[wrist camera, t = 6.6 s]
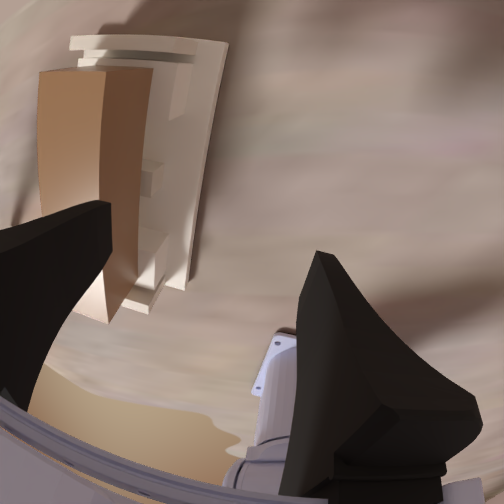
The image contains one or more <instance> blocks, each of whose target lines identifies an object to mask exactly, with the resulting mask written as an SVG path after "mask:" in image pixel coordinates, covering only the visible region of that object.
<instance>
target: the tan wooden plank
mask: <svg viewBox="0 0 504 504" xmlns="http://www.w3.org/2000/svg"><path fill="white" fill-rule="evenodd" d="M153 69H154V68H144V67H128V66H100V65H93V66H83V67H74V68H65V69H58V70H51V71H44V72H40V74H39V88H38V107H37V155H38V176H39V189H40V200H41V210H42V217H44V216H47V215H50V214H53V213H55V212H58V211H61V210H64V209H67V208H69V207H72V206H75V205H78V204H81V203H85V202H88V201H93V200H101V201H106V202H110V203H111V215H112V244H113V252H112V254H111V255H110V257H109V259H108V261H107V263H106V264H105V266H104V268H103V269H102V271H101V273H100V274H99V275H98V277H97V278H96V279H95V280H94V282H93V283H92V284H91V286H90V287H89V288H88V290H87V291H86V292H85V294H84V295H83V296H82V297H81V299H80V300H79V301H78V303H77V304H76V305H75V307H74V308H73V310H72V311H74V312H77V313H79V314H82V315H84V316H87V317H90V318H92V319H95V320H98V321H101V322H103V323H106V324H109V323H110V321H111V320H112V318H113V317H114V315H115V313H116V312H117V310H118V309H119V307H120V306H121V304H122V302H123V301H124V299H125V298H126V296H127V295H128V293H129V292H130V290H131V289H132V287H133V286H134V284H135V283H136V281H137V280H138V226H139V201H140V184H141V169H142V157H143V146H144V136H145V127H146V118H147V110H148V102H149V95H150V88H151V81H152V75H153Z"/></svg>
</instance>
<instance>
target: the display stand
mask: <svg viewBox="0 0 504 504" xmlns="http://www.w3.org/2000/svg"><path fill="white" fill-rule="evenodd" d="M228 47H229V43H226V42H220V41H213V40H205V39H196V38H186V37H175V36H161V35H135V34H106V35H82V36H71V40H70V46H69V50H84V57H83V58H79V59H78V67H83V66H93V65H100V66H128V67H144V68H154V69H153V75H152V81H151V88H150V95H149V102H148V110H147V118H146V127H145V136H144V146H143V157H142V169H141V184H140V201H139V226H138V280H137V281H136V283H135V284H134V286H133V287H132V289H131V290H130V292H129V293H128V295H127V296H126V298H125V299H124V301H123V302H122V304H121V306H124V307H127V308H130V309H133V310H136V311H139V312H142V313H146V314H149V313H150V311H151V309H152V307H153V305H154V303H155V301H156V300H157V298H158V296H159V294H160V292H161V290H162V289H163V287H164V285H167V286H170V287H174V288H177V289H181V290H185V288H186V286H187V284H188V280H189V272H190V264H191V256H192V248H193V241H194V234H195V227H196V220H197V213H198V206H199V200H200V193H201V187H202V181H203V175H204V169H205V163H206V157H207V151H208V146H209V140H210V135H211V129H212V124H213V119H214V113H215V108H216V103H217V98H218V93H219V88H220V83H221V79H222V74H223V69H224V65H225V60H226V56H227V51H228Z"/></svg>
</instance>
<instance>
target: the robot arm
mask: <svg viewBox="0 0 504 504" xmlns="http://www.w3.org/2000/svg"><path fill="white" fill-rule="evenodd" d="M112 252H113V244H112V215H111V203H110V202H106V201H101V200H93V201H88V202H85V203H81V204H78V205H75V206H72V207H69V208H67V209H64V210H61V211H58V212H55V213H53V214H50V215H47V216H44V217H41V218H38V219H35V220H32V221H29V222H27V223H24V224H21V225H17V226H14V227H10V228H7V229H3V230H0V426H1V427H2V428H4V429H5V430H7V431H8V432H10V433H11V434H13V435H15V436H16V437H18V438H19V439H21V440H23V441H24V442H26V443H28V444H29V445H31V446H33V447H35V448H36V449H38V450H40V451H42V452H43V453H45V454H47V455H49V456H51V457H53V458H54V459H56V460H58V461H60V462H62V463H64V464H66V465H68V466H70V467H72V468H74V469H76V470H78V471H80V472H83V473H85V474H87V475H89V476H92V477H94V478H96V479H99V480H101V481H104V482H106V483H108V484H111V485H113V486H116V487H118V488H121V489H124V490H126V491H129V492H132V493H135V494H138V495H141V496H144V497H147V498H150V499H153V500H156V501H159V502H163V503H166V504H485V500H484V494H483V487H482V481H481V478H473V479H468V480H463V481H457V482H452V483H449V484H446V485H443V486H442V484H441V477H442V476H444V475H446V472H447V469H446V463H445V462H446V461H448V460H449V459H451V458H452V457H453V456H455V455H456V454H458V453H459V452H460V451H462V450H463V449H464V448H466V447H467V446H468V445H469V444H471V443H472V442H473V441H474V440H475V439H476V438H477V436H478V435H479V434H480V432H481V430H482V426H483V422H482V419H481V415H480V412H479V408H478V405H477V402H476V398H475V396H474V395H472V394H471V393H469V392H468V391H466V390H465V389H463V388H461V387H460V386H458V385H457V384H455V383H454V382H452V381H451V380H449V379H448V378H446V377H445V376H443V375H442V374H441V373H439V372H438V371H437V370H435V369H434V368H433V367H431V366H430V365H429V364H428V363H427V362H425V361H424V360H423V359H422V358H420V357H419V356H418V355H417V354H416V353H415V352H414V351H413V350H412V349H410V348H409V347H408V346H407V345H406V344H405V343H404V342H403V341H402V340H401V339H400V338H399V337H398V336H397V335H396V334H395V333H394V332H393V331H392V330H391V329H390V328H389V327H388V326H387V325H386V323H385V322H384V321H383V320H382V319H381V318H380V317H379V315H378V314H377V313H376V312H375V310H374V309H373V308H372V307H371V305H370V304H369V303H368V302H367V300H366V299H365V298H364V296H363V295H362V294H361V292H360V291H359V290H358V288H357V287H356V285H355V284H354V283H353V281H352V280H351V278H350V277H349V275H348V274H347V272H346V271H345V269H344V268H343V266H342V265H341V264H340V262H339V261H338V259H337V258H336V257H335V255H333V254H329V253H325V252H321V251H317V250H316V253H315V256H314V258H313V261H312V264H311V267H310V270H309V272H308V275H307V278H306V281H305V283H304V286H303V289H302V291H301V294H300V297H299V303H298V311H297V321H296V336H295V335H290V334H286V333H281V332H278V333H275V334H274V336H273V338H272V341H271V343H270V346H269V348H268V351H267V353H266V356H265V358H264V361H263V363H262V366H261V368H260V371H259V373H258V375H257V378H256V380H255V383H254V385H253V388H252V391H251V393H252V394H253V395H256V396H260V397H261V398H260V405H259V411H258V418H257V425H256V432H255V438H254V446H253V447H248V448H247V454H246V458H240V459H238V460H236V461H235V462H234V464H233V465H232V466H231V467H230V468H229V470H228V471H227V473H226V475H225V478H224V480H223V484H222V486H218V485H214V484H209V483H205V482H201V481H197V480H193V479H189V478H184V477H181V476H177V475H174V474H170V473H167V472H164V471H160V470H157V469H154V468H151V467H147V466H145V465H141V464H139V463H136V462H133V461H130V460H127V459H125V458H122V457H119V456H117V455H114V454H112V453H109V452H107V451H104V450H102V449H99V448H97V447H94V446H92V445H90V444H88V443H85V442H83V441H81V440H79V439H77V438H75V437H72V436H70V435H68V434H66V433H64V432H62V431H60V430H58V429H56V428H54V427H52V426H50V425H48V424H46V423H45V422H43V421H41V420H39V419H37V418H36V417H34V416H32V415H30V414H29V413H27V410H28V406H29V403H30V400H31V396H32V393H33V389H34V386H35V383H36V380H37V378H38V376H39V373H40V370H41V368H42V365H43V363H44V361H45V358H46V356H47V354H48V352H49V350H50V347H51V345H52V343H53V341H54V339H55V337H56V336H57V334H58V332H59V330H60V328H61V326H62V324H63V323H64V321H65V320H66V318H67V317H68V315H69V314H70V312H71V311H72V310H73V308H74V307H75V305H76V304H77V303H78V301H79V300H80V299H81V297H82V296H83V295H84V294H85V292H86V291H87V290H88V288H89V287H90V286H91V284H92V283H93V282H94V280H95V279H96V278H97V277H98V275H99V274H100V273H101V271H102V269H103V268H104V266H105V264H106V263H107V261H108V259H109V257H110V255H111V254H112ZM276 341H279V342H276ZM1 427H0V504H142V503H139V502H137V501H134V500H132V499H129V498H127V497H124V496H122V495H119V494H117V493H115V492H112V491H110V490H108V489H106V488H103V487H101V486H99V485H97V484H95V483H93V482H91V481H89V480H87V479H84V478H82V477H80V476H78V475H77V474H75V473H73V472H72V471H70V470H68V469H67V468H65V467H63V466H62V465H60V464H58V463H56V462H54V461H53V460H51V459H50V458H48V457H46V456H44V455H43V454H41V453H40V452H38V451H36V450H35V449H33V448H31V447H30V446H28V445H26V444H25V443H23V442H21V441H20V440H18V439H17V438H15V437H13V436H12V435H10V434H9V433H7V432H6V431H4V430H3V429H2V428H1Z"/></svg>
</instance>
